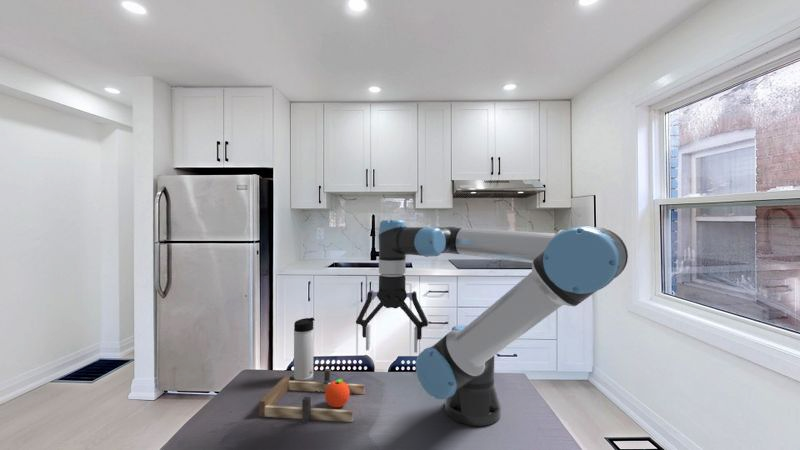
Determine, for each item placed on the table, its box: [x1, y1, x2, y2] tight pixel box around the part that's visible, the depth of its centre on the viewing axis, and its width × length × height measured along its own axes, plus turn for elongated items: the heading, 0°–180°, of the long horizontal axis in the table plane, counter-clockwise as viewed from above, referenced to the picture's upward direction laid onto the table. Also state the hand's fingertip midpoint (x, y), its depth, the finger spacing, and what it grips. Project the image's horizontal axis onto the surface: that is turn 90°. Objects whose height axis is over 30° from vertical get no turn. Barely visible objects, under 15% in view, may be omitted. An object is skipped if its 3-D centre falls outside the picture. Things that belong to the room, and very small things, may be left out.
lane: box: [258, 368, 366, 424], centre depth 100 cm, size 26×20×6 cm
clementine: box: [324, 378, 351, 409], centre depth 99 cm, size 8×7×7 cm
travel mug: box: [293, 317, 315, 382], centre depth 116 cm, size 6×7×20 cm
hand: (391, 349), depth 98 cm, fingers open, 13 cm apart
